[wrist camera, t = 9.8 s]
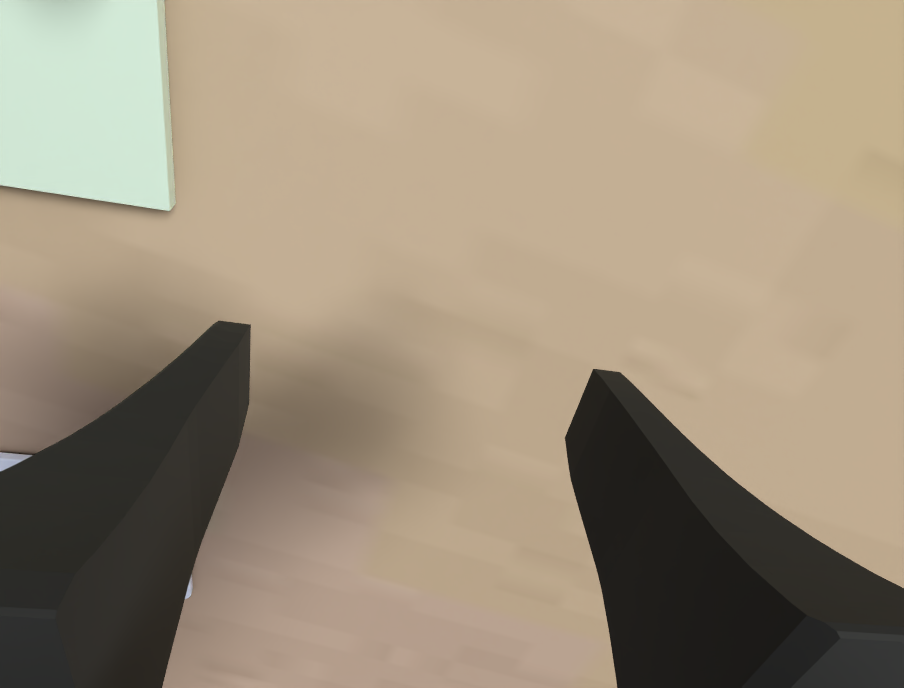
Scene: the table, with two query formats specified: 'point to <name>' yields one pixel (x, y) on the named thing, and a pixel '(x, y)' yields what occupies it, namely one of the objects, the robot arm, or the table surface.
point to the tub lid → (86, 100)
